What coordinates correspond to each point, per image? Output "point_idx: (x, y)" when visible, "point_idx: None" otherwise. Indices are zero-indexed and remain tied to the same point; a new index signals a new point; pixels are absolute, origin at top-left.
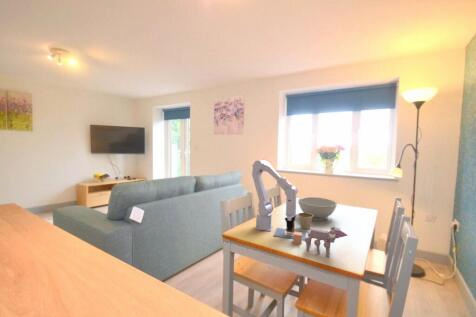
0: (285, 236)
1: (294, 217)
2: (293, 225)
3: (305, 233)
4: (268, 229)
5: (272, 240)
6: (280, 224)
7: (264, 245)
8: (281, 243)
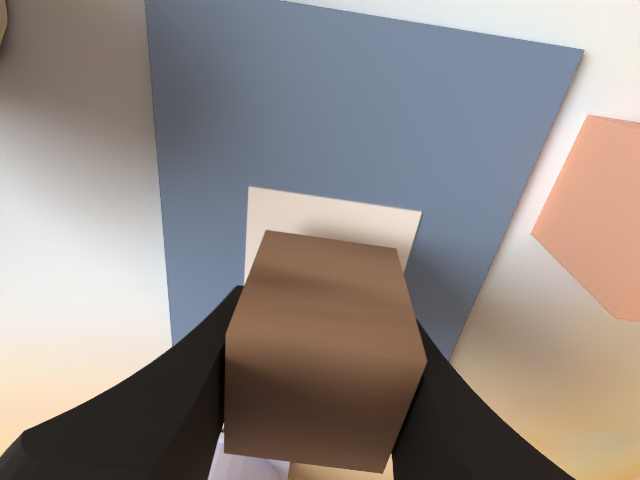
0: (439, 328)
1: (163, 472)
2: (419, 354)
3: (260, 8)
4: (268, 460)
5: (529, 427)
6: (22, 353)
7: (637, 475)
8: (621, 363)
